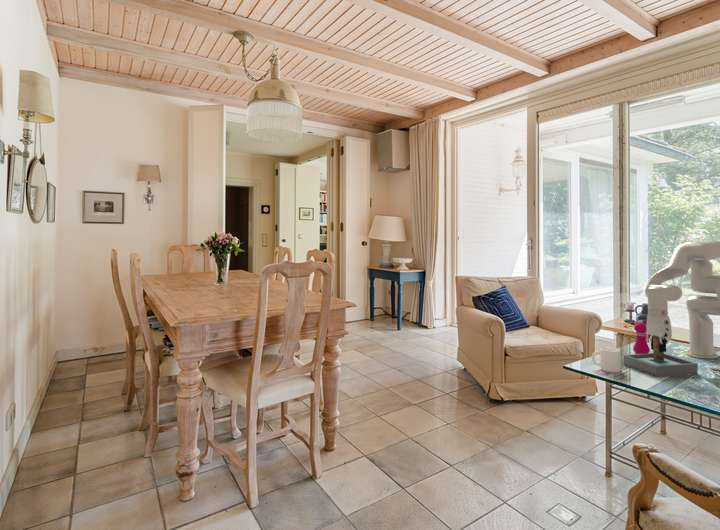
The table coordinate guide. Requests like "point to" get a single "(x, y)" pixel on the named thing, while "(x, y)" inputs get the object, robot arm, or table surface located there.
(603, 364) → the mug
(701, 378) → the table surface
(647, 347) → the pepper mill
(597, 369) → the table surface
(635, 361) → the tray
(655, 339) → the peg
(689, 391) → the table surface
